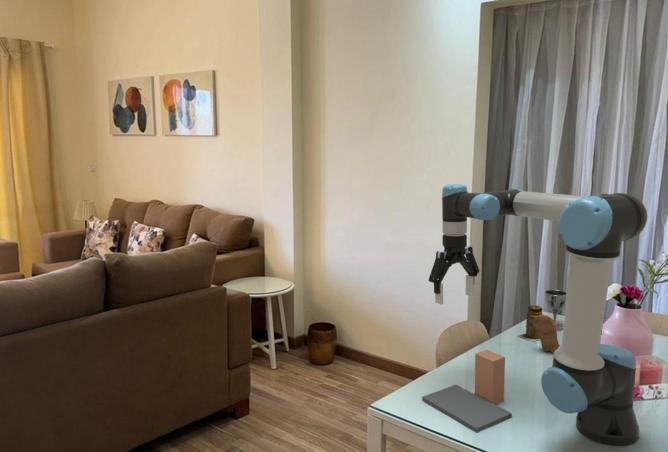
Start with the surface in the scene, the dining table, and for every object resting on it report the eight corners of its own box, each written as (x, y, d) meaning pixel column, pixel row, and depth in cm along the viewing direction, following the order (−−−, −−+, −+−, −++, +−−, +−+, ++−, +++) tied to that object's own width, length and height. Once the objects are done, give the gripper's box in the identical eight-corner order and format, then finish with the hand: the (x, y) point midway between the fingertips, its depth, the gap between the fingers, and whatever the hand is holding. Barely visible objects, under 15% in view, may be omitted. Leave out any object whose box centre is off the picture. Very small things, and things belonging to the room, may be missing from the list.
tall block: (503, 401, 164) (505, 357, 161) (492, 406, 161) (493, 361, 159) (486, 392, 170) (486, 349, 167) (474, 396, 167) (475, 353, 165)
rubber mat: (511, 417, 155) (511, 413, 154) (476, 432, 147) (476, 428, 147) (455, 388, 173) (455, 384, 173) (422, 400, 166) (422, 396, 165)
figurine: (560, 349, 200) (561, 310, 198) (555, 357, 194) (557, 317, 191) (536, 345, 205) (537, 307, 202) (530, 353, 198) (532, 313, 196)
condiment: (547, 337, 213) (548, 307, 211) (533, 342, 208) (534, 312, 206) (531, 332, 219) (532, 303, 217) (517, 336, 214) (518, 307, 212)
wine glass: (563, 332, 217) (564, 296, 214) (542, 329, 221) (543, 293, 218) (566, 326, 223) (568, 291, 221) (546, 323, 228) (547, 288, 225)
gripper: (473, 227, 181) (472, 289, 185) (416, 237, 168) (417, 304, 171) (490, 230, 175) (490, 294, 178) (433, 240, 162) (434, 309, 165)
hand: (454, 299), depth 175 cm, fingers open, 13 cm apart
